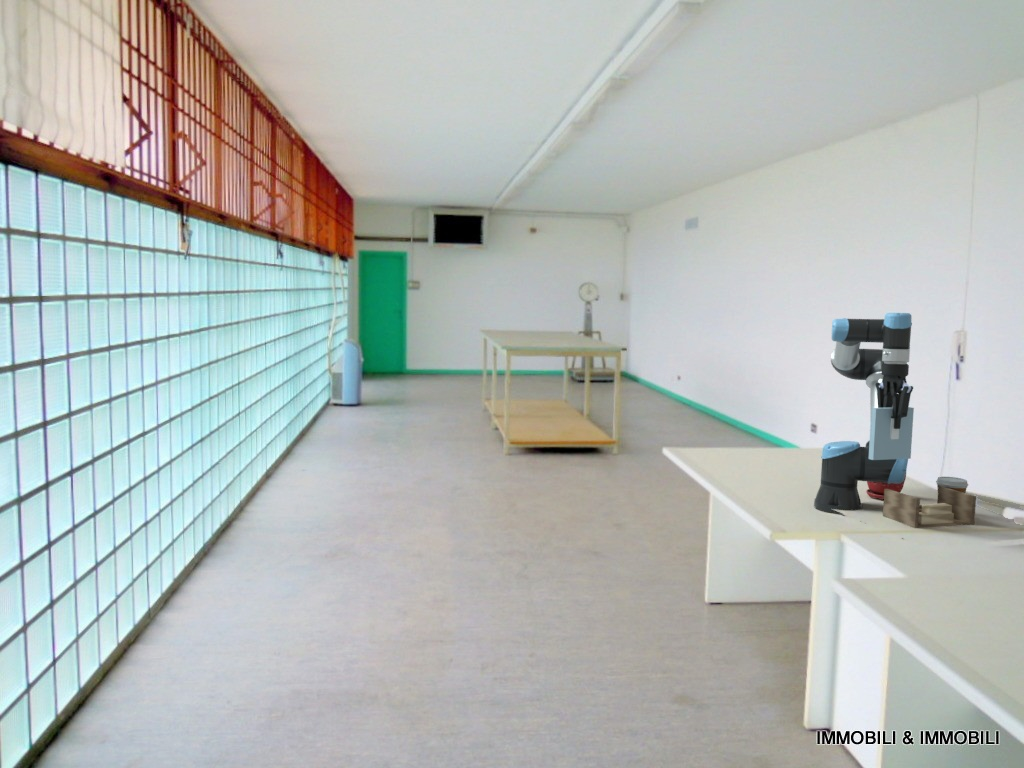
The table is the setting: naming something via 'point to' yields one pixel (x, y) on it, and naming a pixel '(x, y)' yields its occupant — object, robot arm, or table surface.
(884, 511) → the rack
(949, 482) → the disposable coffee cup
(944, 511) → the offcut stack
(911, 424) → the panel
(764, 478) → the table surface
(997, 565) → the table surface
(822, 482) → the robot arm
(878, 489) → the plant pot
